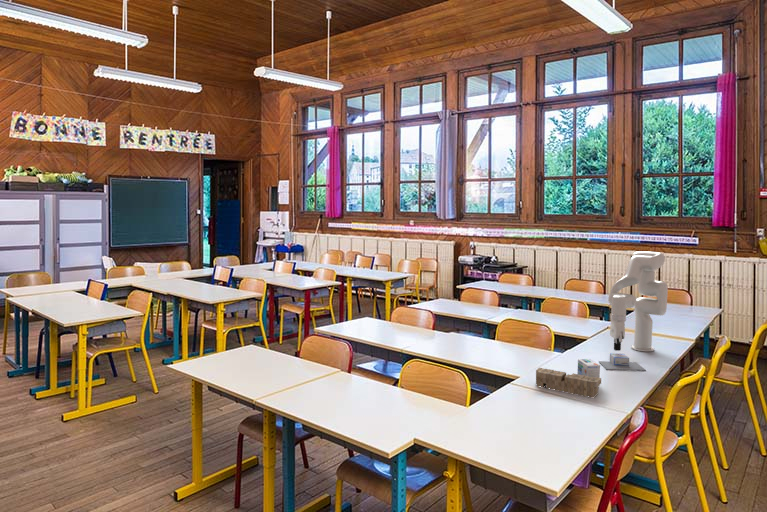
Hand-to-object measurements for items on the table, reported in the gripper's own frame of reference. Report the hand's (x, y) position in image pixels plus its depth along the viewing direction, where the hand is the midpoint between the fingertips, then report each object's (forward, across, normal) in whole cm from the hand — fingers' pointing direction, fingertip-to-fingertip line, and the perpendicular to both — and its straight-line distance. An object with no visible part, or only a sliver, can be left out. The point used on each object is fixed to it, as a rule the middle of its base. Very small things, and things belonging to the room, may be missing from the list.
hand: (617, 350), depth 297 cm
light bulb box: (+7, +38, -27) cm, 47 cm away
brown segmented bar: (+7, +49, -40) cm, 63 cm away
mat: (+7, +8, 0) cm, 11 cm away
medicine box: (+4, 0, 0) cm, 4 cm away
